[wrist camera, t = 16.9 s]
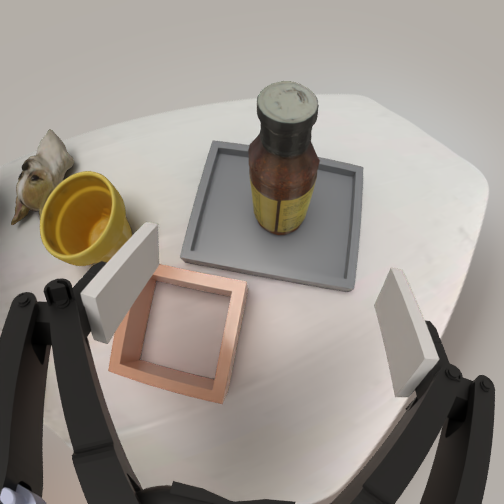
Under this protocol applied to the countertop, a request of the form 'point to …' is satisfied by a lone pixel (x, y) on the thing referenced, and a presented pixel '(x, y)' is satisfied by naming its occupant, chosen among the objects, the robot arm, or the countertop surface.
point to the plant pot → (84, 220)
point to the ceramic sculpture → (41, 175)
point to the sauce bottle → (283, 157)
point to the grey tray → (268, 244)
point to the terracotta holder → (132, 367)
